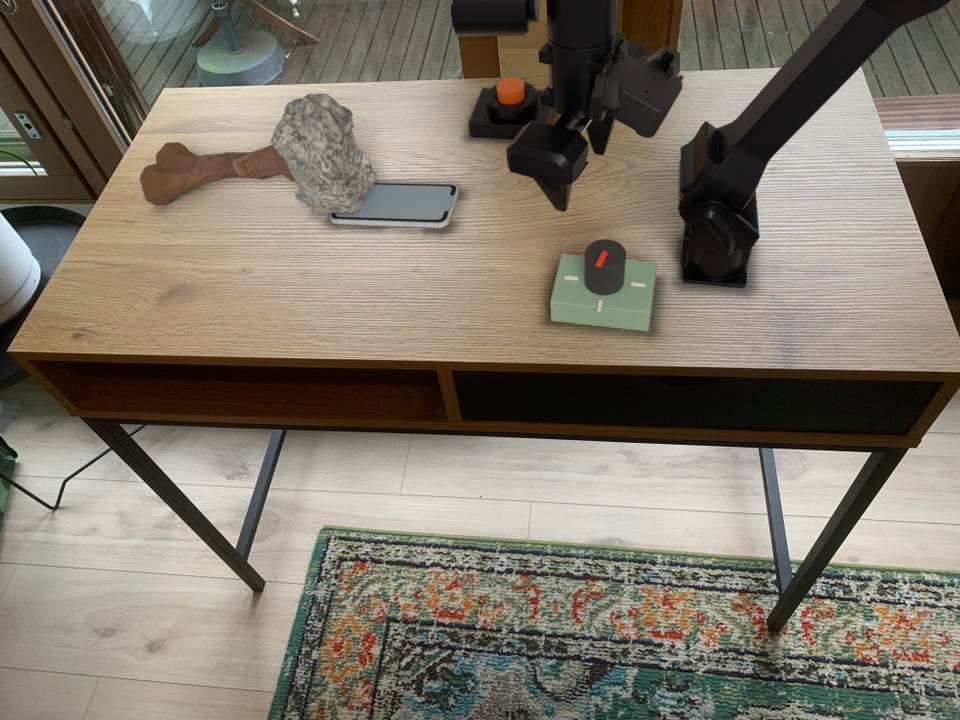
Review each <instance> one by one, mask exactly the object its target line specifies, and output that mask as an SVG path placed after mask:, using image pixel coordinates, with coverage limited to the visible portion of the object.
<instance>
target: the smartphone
mask: <svg viewBox="0 0 960 720" xmlns="http://www.w3.org/2000/svg"><path fill="white" fill-rule="evenodd" d="M458 197H459V186H458V185H457V184H455V183H447V182H446V183H444V182H442V183H441V182H407V181H405V182H403V181H402V182H400V181H375V182H374V184H373V186H372V188H371V190H370V191H369V192H368V193H367V194H366V195H365V196H364V197H363V198H364V202H363V206H362V207H361V208H360V209H358V210H357V211H356V212H354V213H353V214H349V213H343V212H338V213H329V219H330V222H331V223H333V224H335V225H353V226H354V225H355V226H356V225H357V226H378V227H379V226H380V227H381V226H383V227H403V228H404V227H408V228H430V229H431V228H433V229H441V228H445V227H446V226H448V225H449V224H450V221H451V218H452V214H453V212H454V209H455V205H456V203H457V199H458Z"/></svg>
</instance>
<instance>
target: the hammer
mask: <svg viewBox="0 0 960 720" xmlns="http://www.w3.org/2000/svg"><path fill="white" fill-rule="evenodd" d="M353 116H354V114H353V112H352V111H351V110H350V109H349V108H347V107H346V106H344V105H340V104H339V102H338V101H336V99H334V97H332V96H330V95H329V94H328V93H311V92H310V93H308V94H306V95H305V96H304V97H300V98H295V99H293V100H291V101H289V102H287V104H286V105H285V107H284V112H283V114H282V117H281V119H280V121H279V122H278V124H277V125H276V127H275V128H274V130H273V132H272V136H271V138H270V142H269V143H271V144H270V145H268V146H266V147H262V148H260V149H256V150H253V151H249V152H248V151H246V152H245V151H226V152H222V153H211V154H203V155H198V154H196V153H194V152H191V150H189V149H188V148H187V146H186V145H184V144H183V143H182V142H180V141H177V142H176V141H175V142H166V143H164V144H163V146H161V148H160V149H159V150H158V151H157V153H156V154H155V163H153V164H150V165H146V166H145V167H144V168H143V170H142V172H141V174H140V175H139V182H140V185H141V189H142V193H143V197H144V199H145V201H146V202H148V203H150V204H152V205H154V206H161V205H167V204H168V203H170V202H171V201H172V200H173V199H175V198H176V197H178V196H179V195H181V194H184V193H186V192H189V191H190V190H192V189H195V188H198V187H199V186H202V185H204V184H210V183H214V182H218V181H222V180H226V179H239V178H240V179H242V178H243V179H250V180H251V179H252V180H260V181H261V180H263V181H265V180H268V179H271V178H274V177H279V176H283V177H284V178H286V179H288V180H290V181H291V182H295V183H296V185H297V187H298V188H299V190H297V191H296V192H294V196H295V199H296V200H298V201H300V202H303V203H305V205H307V206H308V207H309V209H311V211H312V212H313V213H318V214H323V215H324V214H326V215H327V214H330V213H338V212H343V213H349V214H353V213H354V212H356V211H357V210H358V209H360V208H361V207H362V206H363V202H364V198H363V197H364V196H365V195H366V194H367V193H368V192H369V191H370V190H371V188H372V186H373V184H374V182H376V181H377V178H378V177H377V176H378V173H377V172H376V171H375V169H374V168H373V167H372V164H371V159H370V157H369V154H367V153H365V152H364V151H363V150H361V148H359V145H358V143H357V142H356V138H355V135H354V132H353V129H354V125H355V124H354V120H353V118H352V117H353Z"/></svg>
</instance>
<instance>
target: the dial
mask: <svg viewBox="0 0 960 720" xmlns="http://www.w3.org/2000/svg"><path fill="white" fill-rule="evenodd" d="M584 256H585V285H586V287H587V289H588V290H589V291H591V292H592V293H594V294H597V295H611V294H614V293H616V292H618V291H619V290H620V289H621V288H622V287H623V285H624V277H625V262H626V259H627V251H626V249H625V247H624V245H622V244H621V243H620V242H618V241H616V240H614V239H609V238H607V239H606V238H605V239H604V238H602V239H597V240H595V241H592V242H590V244H588V245H587V247H586V248H585V250H584Z"/></svg>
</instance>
